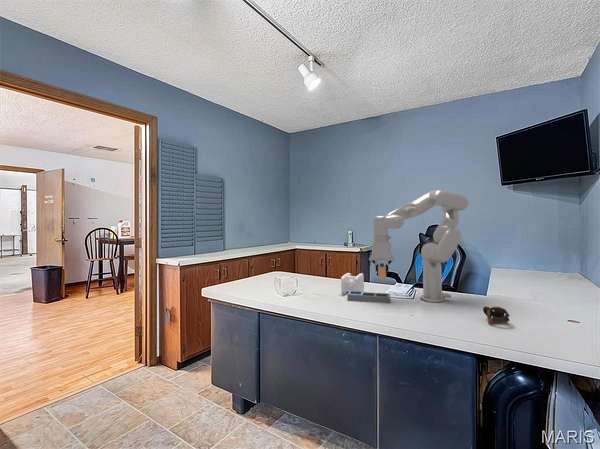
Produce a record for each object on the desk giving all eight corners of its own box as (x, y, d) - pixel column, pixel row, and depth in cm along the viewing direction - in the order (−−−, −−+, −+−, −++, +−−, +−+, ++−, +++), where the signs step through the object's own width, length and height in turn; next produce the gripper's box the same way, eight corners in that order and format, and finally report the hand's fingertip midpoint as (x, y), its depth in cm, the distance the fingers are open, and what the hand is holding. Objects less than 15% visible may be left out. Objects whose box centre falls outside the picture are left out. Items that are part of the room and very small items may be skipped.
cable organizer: (357, 297, 184) (357, 277, 184) (340, 295, 189) (340, 276, 188) (364, 291, 198) (363, 272, 197) (347, 289, 202) (347, 271, 202)
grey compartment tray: (389, 301, 173) (389, 292, 173) (389, 305, 165) (389, 296, 165) (349, 299, 180) (349, 290, 180) (347, 303, 172) (347, 294, 172)
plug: (386, 278, 172) (385, 262, 171) (386, 279, 168) (385, 264, 167) (378, 278, 173) (378, 262, 172) (378, 279, 169) (377, 264, 169)
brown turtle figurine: (515, 325, 135) (515, 311, 132) (500, 337, 133) (499, 324, 129) (489, 311, 146) (488, 297, 142) (475, 322, 143) (473, 309, 140)
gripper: (397, 237, 170) (398, 271, 171) (366, 238, 175) (367, 270, 176) (397, 239, 163) (398, 274, 164) (364, 239, 168) (365, 273, 169)
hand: (382, 272), depth 170 cm, fingers closed on plug, 4 cm apart
